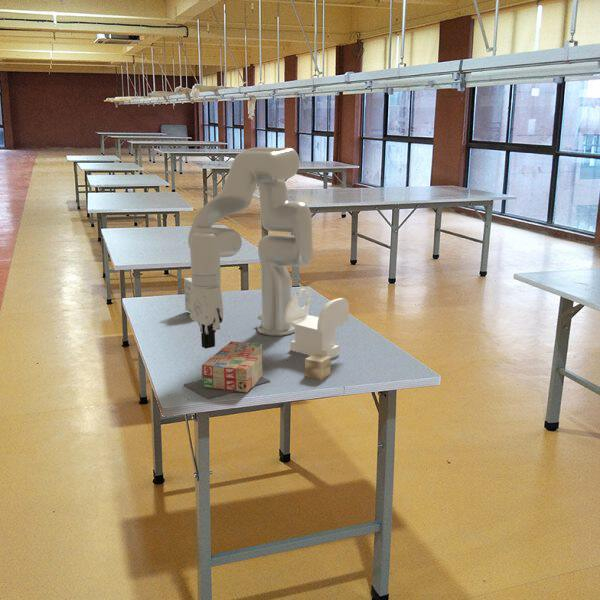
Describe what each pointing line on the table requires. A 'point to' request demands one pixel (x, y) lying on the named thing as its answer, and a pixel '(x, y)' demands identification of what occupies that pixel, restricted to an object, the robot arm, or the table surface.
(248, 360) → the stack of blocks
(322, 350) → the white plastic bracket
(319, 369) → the beech block
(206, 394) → the rubber mat
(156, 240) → the table surface
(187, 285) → the supplement box
